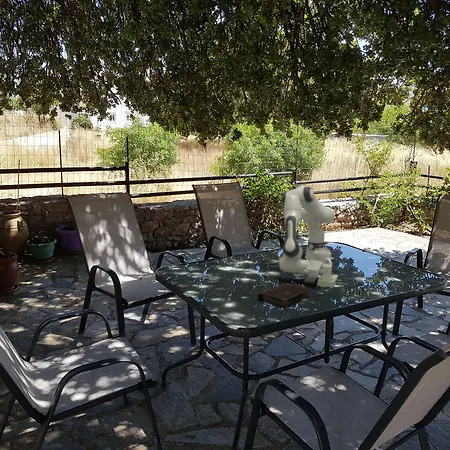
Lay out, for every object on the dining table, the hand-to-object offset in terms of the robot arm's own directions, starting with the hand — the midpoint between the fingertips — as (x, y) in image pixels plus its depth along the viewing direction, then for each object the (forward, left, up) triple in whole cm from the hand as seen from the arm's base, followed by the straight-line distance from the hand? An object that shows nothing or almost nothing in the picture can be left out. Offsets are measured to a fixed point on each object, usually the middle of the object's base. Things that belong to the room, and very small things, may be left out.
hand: (328, 269), depth 262 cm
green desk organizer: (-5, -4, -9) cm, 11 cm away
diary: (+37, -1, -10) cm, 39 cm away
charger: (0, -1, -7) cm, 8 cm away
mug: (-20, -19, -10) cm, 29 cm away
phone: (0, -12, -9) cm, 16 cm away
